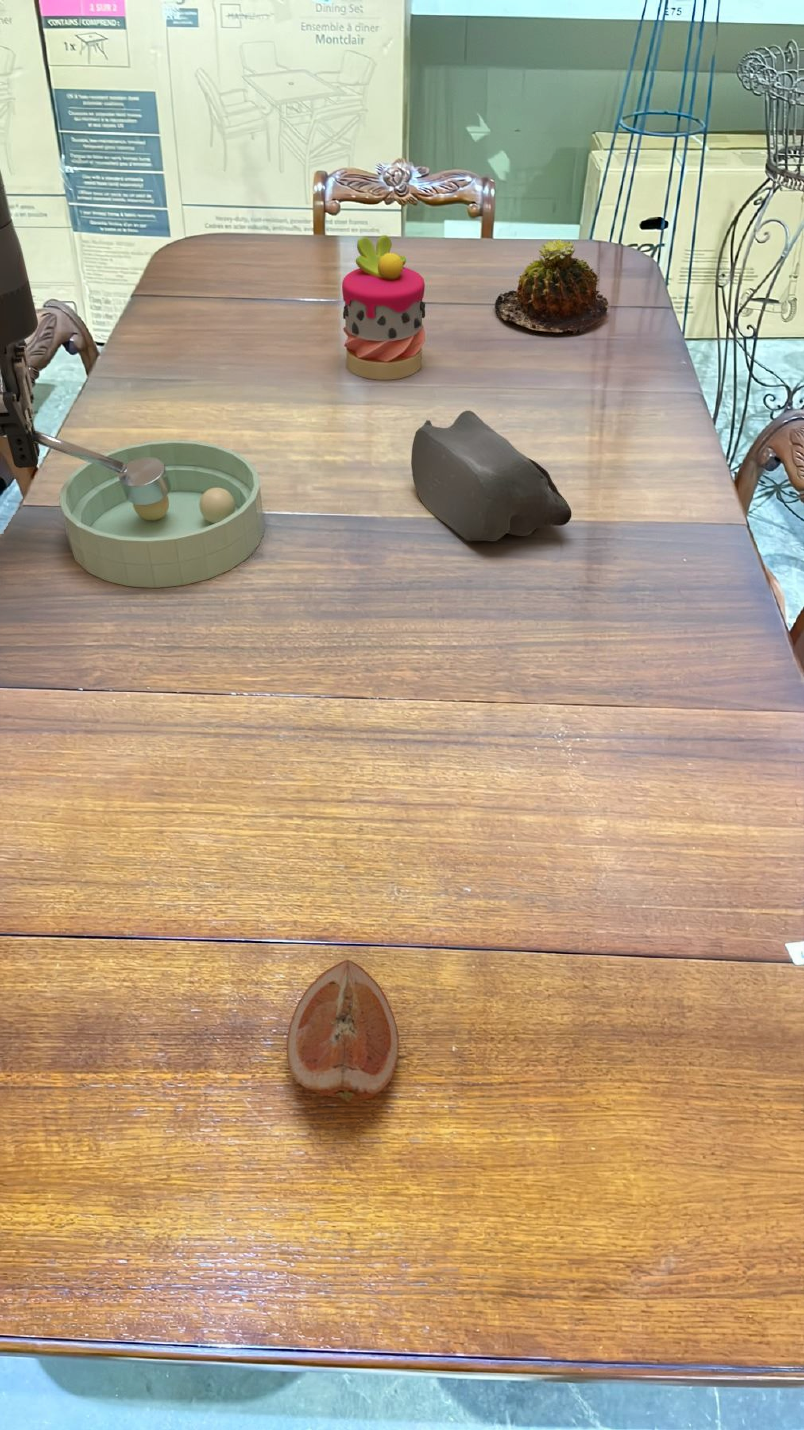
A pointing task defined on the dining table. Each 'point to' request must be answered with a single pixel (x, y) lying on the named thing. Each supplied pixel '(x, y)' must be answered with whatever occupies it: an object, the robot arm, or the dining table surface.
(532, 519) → the rock
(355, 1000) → the fruit slice
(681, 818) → the dining table surface
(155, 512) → the dumpling
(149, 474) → the ladle
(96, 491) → the bowl
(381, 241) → the cake
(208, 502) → the dumpling
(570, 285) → the cactus
